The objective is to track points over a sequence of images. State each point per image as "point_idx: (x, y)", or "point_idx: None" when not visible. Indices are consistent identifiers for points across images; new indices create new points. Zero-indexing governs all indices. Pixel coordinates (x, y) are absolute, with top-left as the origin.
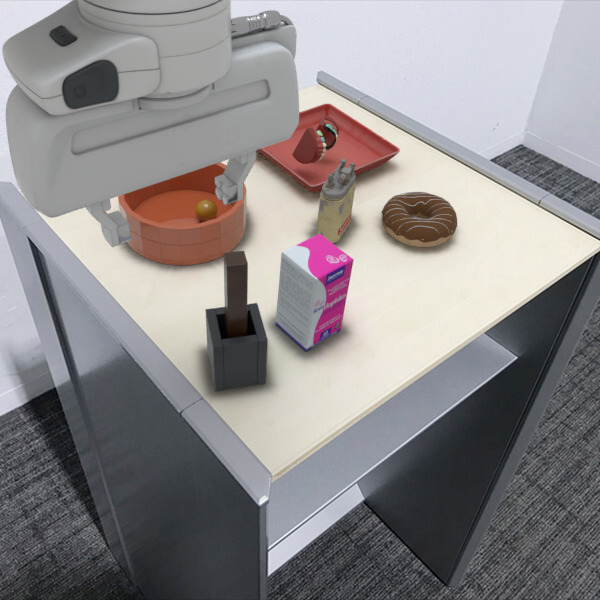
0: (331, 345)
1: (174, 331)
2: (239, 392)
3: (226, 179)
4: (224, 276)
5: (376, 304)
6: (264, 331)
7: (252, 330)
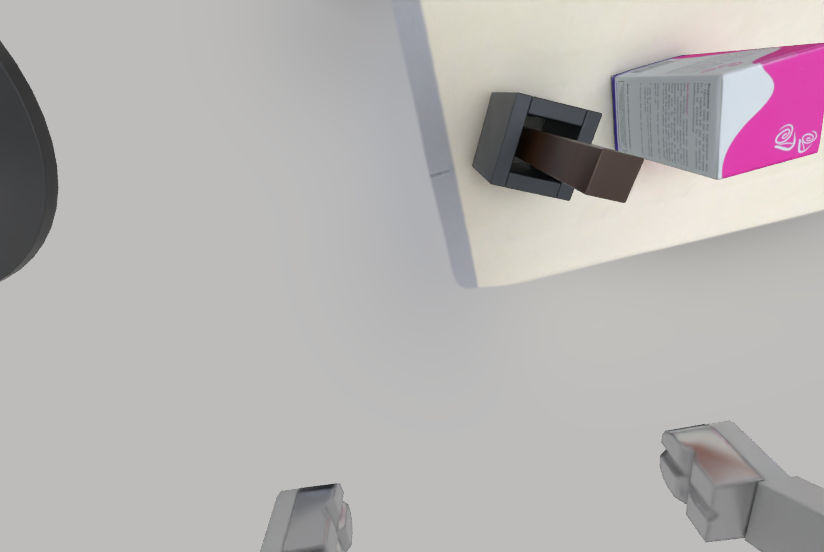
0: None
1: (464, 19)
2: None
3: (740, 505)
4: (573, 148)
5: None
6: None
7: None
